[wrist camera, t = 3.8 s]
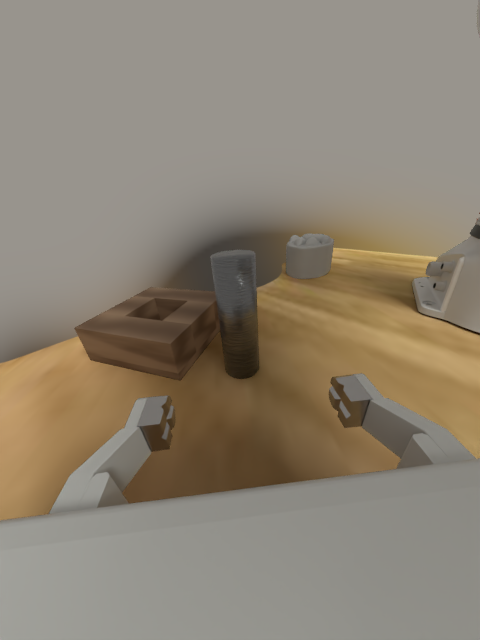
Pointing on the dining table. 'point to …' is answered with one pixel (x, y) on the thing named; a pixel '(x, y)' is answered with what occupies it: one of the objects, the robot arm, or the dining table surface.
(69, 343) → the dining table surface
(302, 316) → the dining table surface
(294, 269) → the lumpy-topped squat cylinder
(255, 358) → the dark grey rounded rod
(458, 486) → the robot arm
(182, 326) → the socket block
